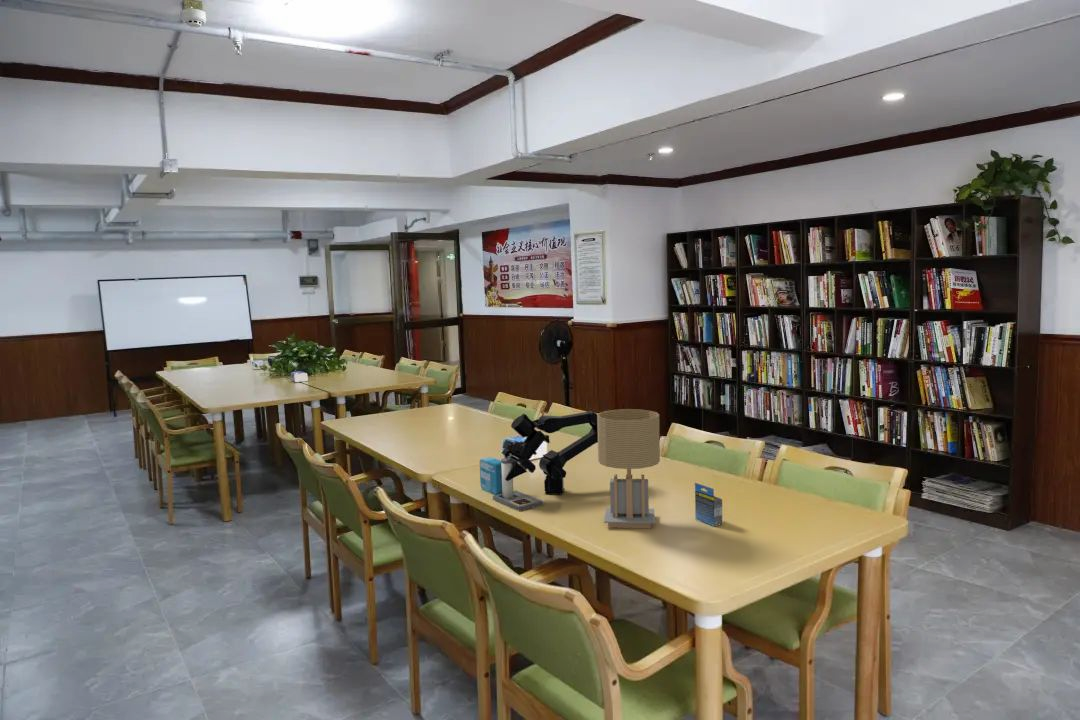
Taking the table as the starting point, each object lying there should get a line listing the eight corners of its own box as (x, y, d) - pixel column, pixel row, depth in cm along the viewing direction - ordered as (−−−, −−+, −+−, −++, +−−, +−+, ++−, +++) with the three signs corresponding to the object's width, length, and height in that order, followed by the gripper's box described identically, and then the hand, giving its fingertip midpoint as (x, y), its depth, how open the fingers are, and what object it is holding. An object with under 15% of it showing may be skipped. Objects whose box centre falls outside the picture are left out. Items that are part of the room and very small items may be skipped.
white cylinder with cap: (514, 498, 259) (513, 458, 258) (512, 502, 255) (511, 461, 254) (504, 498, 260) (502, 458, 258) (501, 501, 256) (500, 460, 254)
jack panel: (515, 494, 264) (515, 490, 264) (542, 505, 251) (542, 500, 250) (493, 499, 259) (492, 495, 258) (519, 511, 245) (518, 506, 245)
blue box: (480, 488, 273) (479, 458, 272) (490, 486, 276) (489, 456, 275) (496, 495, 264) (495, 464, 262) (507, 493, 266) (505, 462, 265)
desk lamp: (597, 532, 222) (595, 420, 218) (601, 511, 242) (598, 409, 238) (661, 533, 220) (660, 420, 216) (659, 512, 239) (658, 409, 235)
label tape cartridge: (723, 524, 225) (723, 486, 224) (713, 527, 224) (713, 488, 222) (703, 517, 233) (703, 480, 232) (694, 519, 231) (694, 482, 230)
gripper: (505, 427, 265) (479, 460, 262) (526, 436, 248) (498, 471, 245) (525, 445, 269) (499, 477, 266) (547, 455, 253) (520, 490, 249)
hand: (503, 478), depth 256 cm, fingers closed on white cylinder with cap, 4 cm apart
